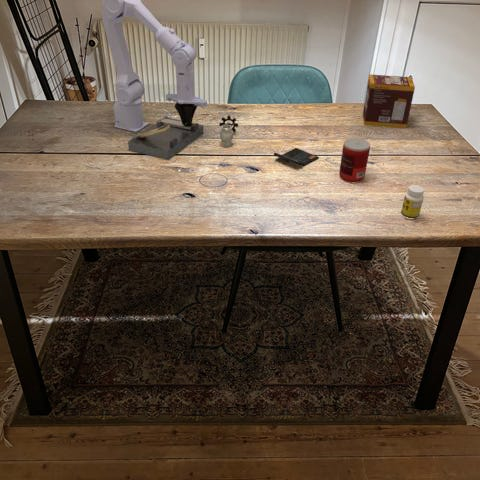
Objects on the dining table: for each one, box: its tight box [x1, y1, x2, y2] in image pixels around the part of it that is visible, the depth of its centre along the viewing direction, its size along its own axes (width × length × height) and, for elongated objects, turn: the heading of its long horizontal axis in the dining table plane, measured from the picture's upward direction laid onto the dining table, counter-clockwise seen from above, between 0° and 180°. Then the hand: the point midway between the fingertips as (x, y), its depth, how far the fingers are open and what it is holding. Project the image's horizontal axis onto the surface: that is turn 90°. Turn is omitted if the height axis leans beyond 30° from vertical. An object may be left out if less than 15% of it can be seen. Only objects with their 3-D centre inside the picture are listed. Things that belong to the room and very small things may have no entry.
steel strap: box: [160, 118, 194, 130], centre depth 181 cm, size 12×3×1 cm, turn 65°
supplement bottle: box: [400, 184, 425, 219], centre depth 141 cm, size 5×5×8 cm
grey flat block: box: [127, 115, 204, 161], centre depth 177 cm, size 15×23×5 cm, turn 155°
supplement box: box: [362, 73, 416, 129], centre depth 193 cm, size 10×15×16 cm
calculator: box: [273, 147, 320, 168], centre depth 169 cm, size 9×12×3 cm
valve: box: [218, 114, 239, 148], centre depth 178 cm, size 7×7×12 cm
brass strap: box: [137, 124, 170, 138], centre depth 169 cm, size 12×3×1 cm, turn 65°
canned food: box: [338, 137, 371, 183], centre depth 158 cm, size 8×8×11 cm
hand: (187, 124), depth 179 cm, fingers closed
